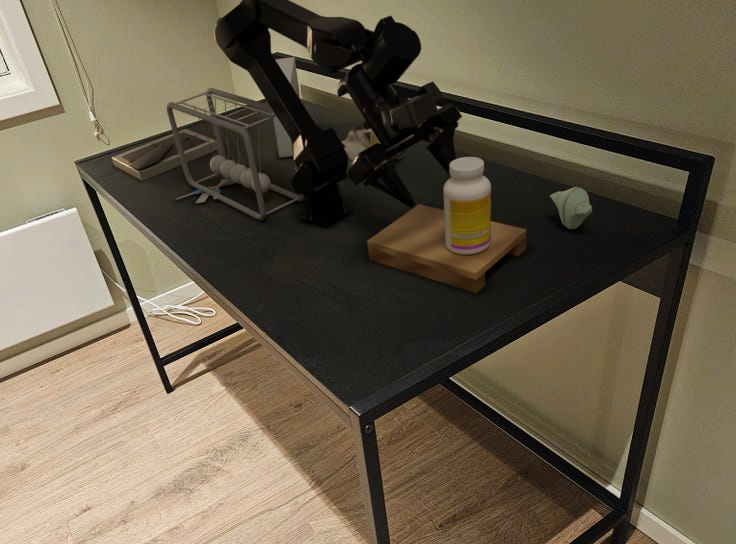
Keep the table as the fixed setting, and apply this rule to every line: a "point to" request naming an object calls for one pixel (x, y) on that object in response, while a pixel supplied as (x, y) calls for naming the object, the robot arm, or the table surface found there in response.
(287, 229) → the table surface
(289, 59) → the skincare box
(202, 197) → the key chain
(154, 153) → the picture frame
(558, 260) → the table surface
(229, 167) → the newton's cradle
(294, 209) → the table surface
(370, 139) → the ceramic sculpture
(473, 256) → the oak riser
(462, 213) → the supplement bottle
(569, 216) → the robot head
